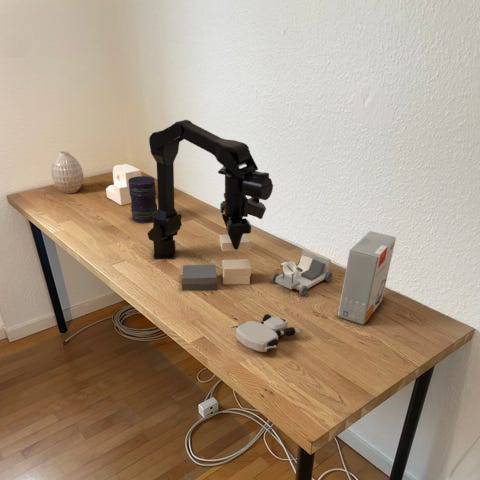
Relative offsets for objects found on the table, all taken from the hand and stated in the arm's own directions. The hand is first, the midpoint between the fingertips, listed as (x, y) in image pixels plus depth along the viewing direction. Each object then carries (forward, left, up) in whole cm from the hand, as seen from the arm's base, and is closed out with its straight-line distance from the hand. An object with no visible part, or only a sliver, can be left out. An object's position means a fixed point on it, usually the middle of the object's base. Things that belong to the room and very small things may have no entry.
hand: (234, 244), depth 140 cm
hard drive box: (+35, -17, -12) cm, 40 cm away
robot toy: (+7, -31, -12) cm, 34 cm away
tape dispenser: (-44, +74, -12) cm, 87 cm away
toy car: (+20, -2, -12) cm, 23 cm away
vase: (-68, +82, -12) cm, 107 cm away
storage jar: (-32, +50, -12) cm, 60 cm away
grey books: (-10, -2, -12) cm, 16 cm away
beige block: (+1, 0, -12) cm, 12 cm away
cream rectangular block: (0, 0, -1) cm, 1 cm away
